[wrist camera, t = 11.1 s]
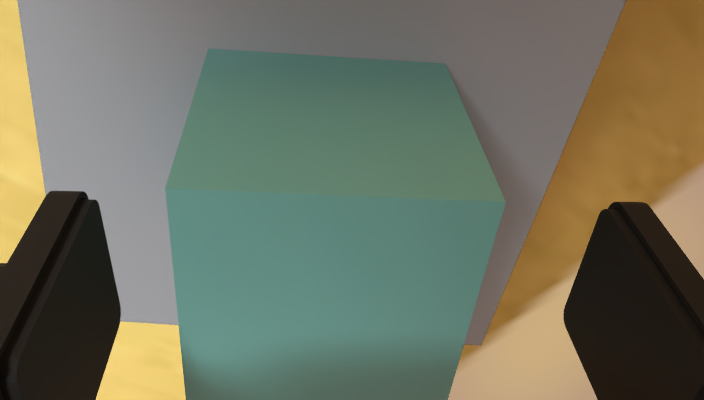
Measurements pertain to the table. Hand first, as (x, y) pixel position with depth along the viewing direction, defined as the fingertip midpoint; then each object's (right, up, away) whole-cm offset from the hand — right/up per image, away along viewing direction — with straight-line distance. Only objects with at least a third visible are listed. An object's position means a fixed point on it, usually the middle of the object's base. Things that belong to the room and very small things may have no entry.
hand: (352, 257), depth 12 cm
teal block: (-1, +2, +3) cm, 4 cm away
